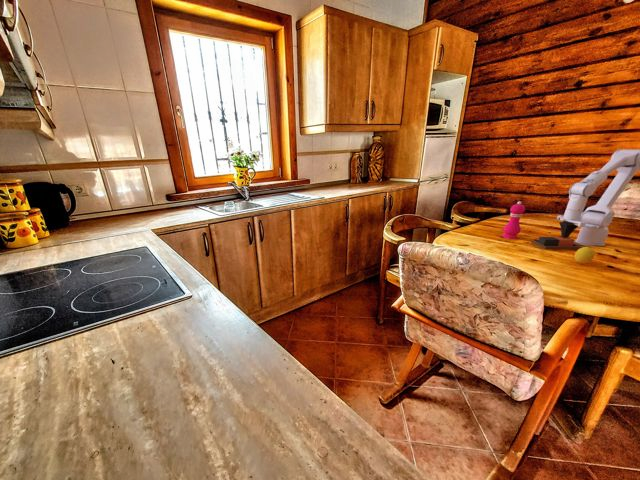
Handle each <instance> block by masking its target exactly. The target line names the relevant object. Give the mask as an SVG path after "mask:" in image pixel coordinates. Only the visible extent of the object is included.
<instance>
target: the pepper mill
mask: <svg viewBox="0 0 640 480" xmlns="http://www.w3.org/2000/svg"><path fill="white" fill-rule="evenodd" d="M509 211H510V215H509V216H510V218H509V221H508V222H507V223H506V224H505V226H504V227H503V230H502V231H503V235H502V238H504V239H507V240H517V239H518V237H519V236H518V234H520V233H521V225H520V220H521V218H522V217H523V214H524V212H525V211H526V207H525V205H524V204H523V203H522V201H521V200H519V201H517V202H516V204H513V205H512V206H511V207H510V210H509Z"/></svg>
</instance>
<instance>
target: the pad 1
mask: <svg viewBox="0 0 640 480" xmlns="http://www.w3.org/2000/svg"><path fill="white" fill-rule="evenodd" d="M554 237H555V236H539V237H538V239H537V240H538V242H539V243H541V244H543V245H545V246H558V243H559V239H557V238H554Z"/></svg>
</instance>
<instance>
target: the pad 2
mask: <svg viewBox="0 0 640 480" xmlns="http://www.w3.org/2000/svg"><path fill="white" fill-rule="evenodd" d="M553 237H554V238H557V239H559V243H558V246H573V243H575V242H574V241H575V240H576V239H574V238H572V237H570V236H569V237H568V238H562V237H561V236H553Z"/></svg>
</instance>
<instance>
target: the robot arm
mask: <svg viewBox="0 0 640 480" xmlns="http://www.w3.org/2000/svg"><path fill="white" fill-rule="evenodd" d="M615 171H617V174H615V177H614V178H613V179H612V181H611V183H610V184H609V185H608V187H607V188H606V189H605V191H604V192H603V194H602V195H601V196H600V198H599V199H598V201H597V203H596V204H594V205H591V206H588V207H587V208H586V204H587V201H588V199H589V197H590V196H592V195H593V194H594V193H595V191H596V190H597V188H598V187H599V186H600V185H601V184H602V183H604V182H605V181H606V180H607V179H608V175H610V174H611V173H613V172H615ZM637 172H640V149H623V148H620V149H617V150H616V151H614V152H613V153H612V154H611V157H610V159H609V161H607V163H605V164H604V165H603V167H602V168H600V169H599V170H594V171H593V172H591V173H590V174H588V176H586V177H585V178H584V179H582V180H581V181H580V182H576V183H573V184H572V185H571V186H570V188H569V189H568V194H569V195H568V199H569V200H568V202H567V205H566V208H565V211H564V214H563V215H562V214H558V215H557V217H556V220H560V222H559V226H560V233H561V234H560V237H562V238H568V237H569V238H570V236H571V235H572V233H573V232H574V231H575V230H576V229H577V228H580V229H579V231H578V234H577V237H576V239H574V240H575V241H574V243H576V244H578V245H581V246H594V247H595V246H596V247H604V246H606V244H605V243H606V241H607V238H608V236H609V233H610V231H609V228H608V227H609V226H610V224H611V223H612V222H613V220H614V217H615V215H616V212H615V211H614V210H613V209H612V207H613V206H614V204H615V203H616V201H617V200H618V199H619V197H620V196H621V194H622V193H623V191H624V190H625V189H626V188H627V186H628V185H629V183H630V182H631V180H632V178H633V177H634V176H635V175H636V173H637ZM585 208H586V209H585ZM584 209H585V210H584Z"/></svg>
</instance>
